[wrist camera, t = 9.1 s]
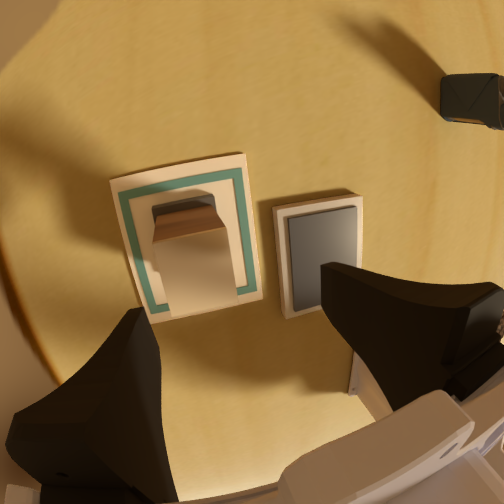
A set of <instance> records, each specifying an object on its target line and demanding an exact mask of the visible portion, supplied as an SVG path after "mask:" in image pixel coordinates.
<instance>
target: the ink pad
mask: <svg viewBox="0 0 504 504" xmlns="http://www.w3.org/2000/svg"><path fill="white" fill-rule="evenodd" d="M272 212H273V222H274V232H275V242H276V253H277V264H278V275H279V286H280V298H281V310H282V314H283V316H284V317H285V319H290V318H293V317H297V316H300V315H304V314H307V313H311V312H314V311H317V310H321V309H322V307H321V274H320V265H322V264H325V263H329V262H339V263H343V264H347V265H351V266H354V267H357V268H361V265H362V231H363V199H362V196H361V195H358V194H356V193H355V194H348V195H341V196H335V197H328V198H322V199H316V200H310V201H304V202H298V203H292V204H286V205H280V206H274V207H272Z"/></svg>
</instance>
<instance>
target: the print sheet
mask: <svg viewBox="0 0 504 504" xmlns="http://www.w3.org/2000/svg"><path fill="white" fill-rule="evenodd" d="M109 181H110V186H111V191H112V196H113V200H114V205H115V209H116V213H117V217H118V221H119V226H120V229H121V233H122V237H123V241H124V245H125V248H126V252H127V256H128V259H129V263H130V266H131V269H132V273H133V276H134V279H135V282H136V286H137V289H138V292H139V295H140V298H141V301H142V304H143V306H144V308H145V311H146V314H147V317H148V319H149V322H150V324H154V323H159V322H164V321H169V320H174V319H179V318H183V317H188V316H193V315H197V314H202V313H206V312H211V311H215V310H219V309H224V308H228V307H232V306H237V305H241V304H245V303H249V302H253V301H257V300H261V299H263V294H262V285H261V277H260V268H259V260H258V252H257V243H256V235H255V227H254V219H253V211H252V202H251V194H250V186H249V178H248V170H247V162H246V154H245V153H244V154H237V155H230V156H223V157H217V158H211V159H205V160H199V161H194V162H188V163H183V164H178V165H173V166H168V167H163V168H158V169H154V170H149V171H145V172H140V173H136V174H132V175H127V176H123V177H119V178H115V179H111V180H109ZM208 194H213V195H214V197H215V204H216V210H217V214H218V215H219V217H220V219H221V220H222V222H223V223H224V225H225V226H226V228H227V232H228V239H229V245H230V252H231V258H232V264H233V270H234V277H235V283H236V289H237V295H238V301H239V302H238V303H234V304H230V305H226V306H221V307H217V308H212V309H208V310H203V311H199V312H194V313H190V314H185V315H180V316H176V317H172V315H171V312H170V308H169V305H168V302H167V298H166V295H165V291H164V288H163V284H162V281H161V277H160V273H159V269H158V266H157V262H156V258H155V254H154V250H153V246H152V241H153V235H154V229H155V224H154V219H153V215H152V210H151V209H152V206H154V205H158V204H163V203H168V202H172V201H177V200H182V199H187V198H192V197H197V196H202V195H208Z"/></svg>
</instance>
